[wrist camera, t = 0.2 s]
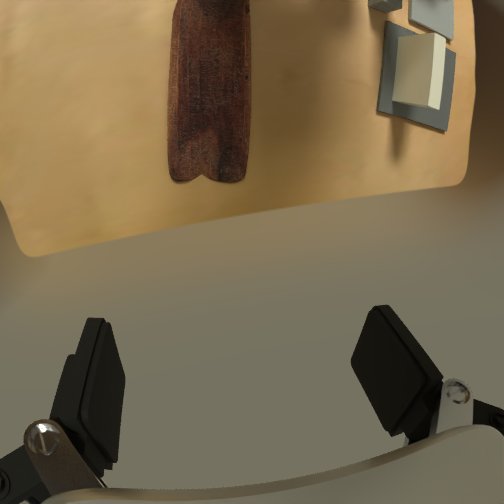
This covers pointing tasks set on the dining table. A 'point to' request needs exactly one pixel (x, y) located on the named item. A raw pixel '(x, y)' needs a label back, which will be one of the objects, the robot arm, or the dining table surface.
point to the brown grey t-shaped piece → (385, 5)
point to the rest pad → (433, 15)
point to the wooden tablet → (209, 90)
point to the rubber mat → (388, 76)
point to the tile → (420, 70)
